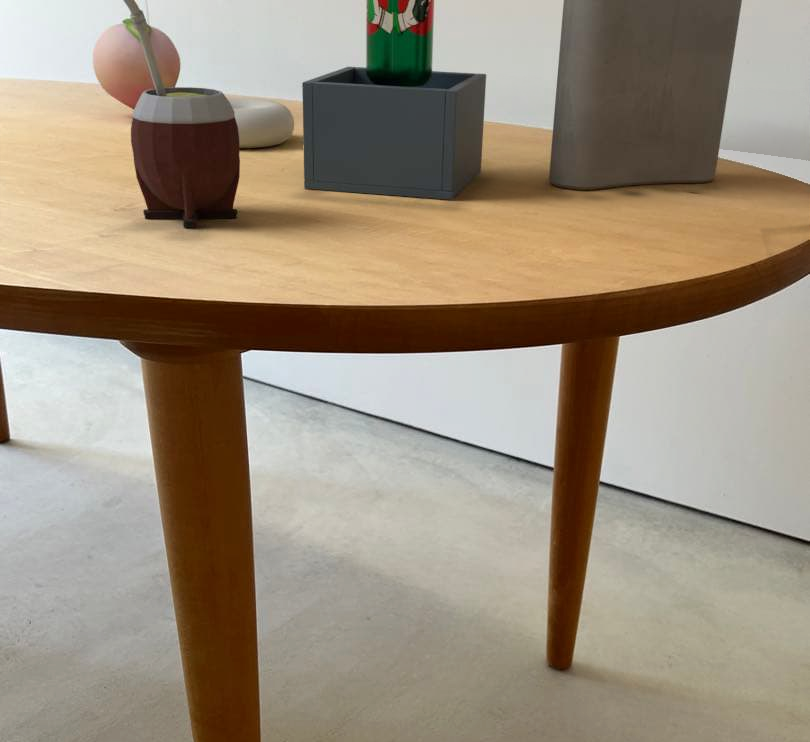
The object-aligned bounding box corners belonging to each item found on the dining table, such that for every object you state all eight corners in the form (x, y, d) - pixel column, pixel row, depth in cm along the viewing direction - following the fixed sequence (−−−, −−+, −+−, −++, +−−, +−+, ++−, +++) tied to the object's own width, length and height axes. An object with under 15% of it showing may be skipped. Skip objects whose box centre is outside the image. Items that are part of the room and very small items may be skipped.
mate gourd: (242, 205, 79) (231, -30, 72) (243, 232, 72) (231, -26, 65) (135, 206, 78) (114, -33, 71) (126, 232, 72) (101, -29, 64)
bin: (481, 172, 92) (486, 73, 89) (451, 200, 83) (456, 91, 79) (347, 162, 95) (347, 66, 91) (304, 188, 85) (301, 82, 81)
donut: (306, 151, 100) (282, 131, 108) (305, 110, 98) (281, 93, 106) (194, 154, 97) (179, 133, 105) (192, 113, 95) (176, 95, 104)
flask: (685, 168, 96) (722, -98, 86) (726, 181, 91) (771, -99, 82) (532, 177, 91) (554, -105, 81) (568, 192, 86) (595, -106, 76)
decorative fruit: (89, 112, 116) (78, 6, 111) (166, 109, 119) (158, 6, 115) (111, 125, 109) (100, 13, 104) (192, 121, 112) (185, 12, 107)
